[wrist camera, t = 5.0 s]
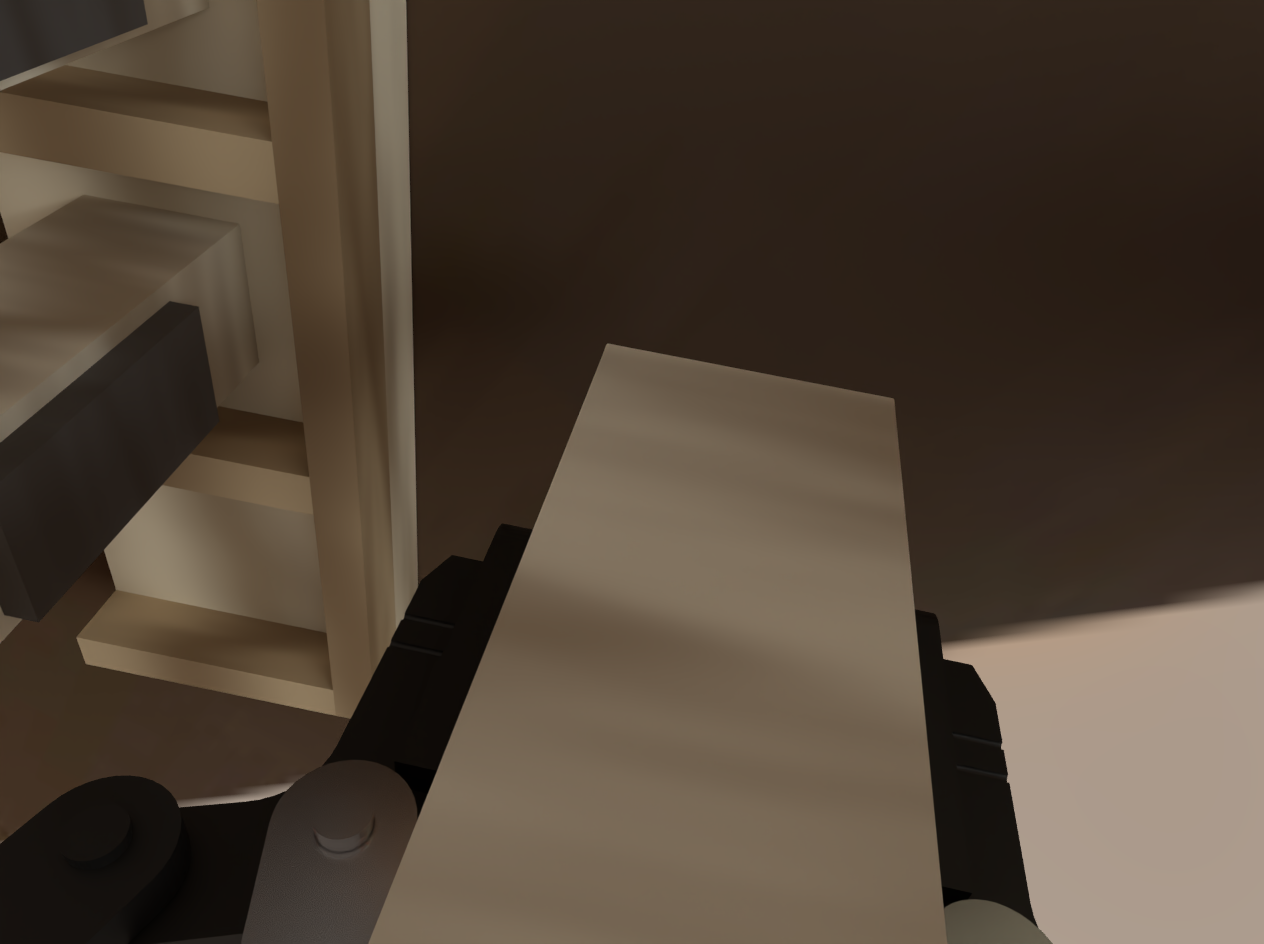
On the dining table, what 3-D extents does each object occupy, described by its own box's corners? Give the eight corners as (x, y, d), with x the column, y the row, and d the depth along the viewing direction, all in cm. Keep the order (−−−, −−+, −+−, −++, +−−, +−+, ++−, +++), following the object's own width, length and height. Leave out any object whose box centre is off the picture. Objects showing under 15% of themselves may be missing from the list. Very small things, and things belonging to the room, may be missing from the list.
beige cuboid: (813, 627, 15) (793, 1516, 8) (580, 578, 16) (323, 1388, 8) (893, 398, 13) (994, 1438, 5) (607, 343, 13) (249, 1243, 5)
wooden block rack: (398, -405, 15) (-264, -692, 6) (418, 625, 31) (247, 1005, 21) (-119, -488, 16) (-1539, -885, 6) (159, 573, 31) (-124, 924, 22)
